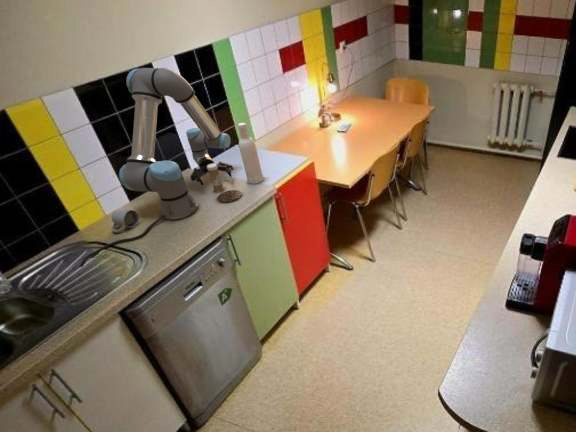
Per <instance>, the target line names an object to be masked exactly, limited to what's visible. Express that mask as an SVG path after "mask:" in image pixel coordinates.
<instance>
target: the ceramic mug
mask: <svg viewBox="0 0 576 432" xmlns="http://www.w3.org/2000/svg"><path fill="white" fill-rule="evenodd" d="M111 221H112V223H113V224H112V225H111V231H112V232H113V233H115V234H120V233H122V232H123V231H124V230H125V229H126V228H129V229H132V228H135V227H136V226H137V225H138V224H139V222H140V214H139V213H138V212H137V211H136V210H135V209H127V208H120V209H116V210H115V211H113V212H112V215H111ZM117 226H119V229H117V230H116V228H117Z"/></svg>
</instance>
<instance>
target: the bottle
mask: <svg viewBox="0 0 576 432" xmlns="http://www.w3.org/2000/svg"><path fill="white" fill-rule="evenodd" d="M237 129H238V131H239V135H240V139H239V141H238V149H239V153H240V157H241V160H242V164H243V167H244V168H243V169H244V173H245V177H246V180H247V183H249V184H250V185H256V184H260V183H262V182H263V181H264V174H263V171H262V170H263V169H262V167H261V162H260V158H259V155H258V154H259V153H258V149H257V146H256V142H255V140H254V139H253V138H252V137H251V136H249V131H248V126H247V123H246V122H239V123H238V124H237Z"/></svg>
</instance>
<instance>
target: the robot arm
mask: <svg viewBox="0 0 576 432" xmlns="http://www.w3.org/2000/svg"><path fill="white" fill-rule="evenodd" d="M125 81H126V84H125V85H126V87H127V88H128V89H127V90H128V91H129V93H130V94H131V98H132V99H133V100H134V102H135V103H134V105H135V106H134V116H133V117H134V118H133V128H132V129H133V131H132V143H131V144H132V145H131V155H130V156H129V157H127V158H126V164H123V165H122V167H120V169H119V173H118V176H119V177H118V178H119V180H120V181H119V182H120V183H121V184H122V185H123V187H124V188H125V189H126V190H129V191H134V192H148V193H149V192H151V193H157V195H158V197H159V200H160V214H161V216H160V217H159V218H158V219H156V220H155V221H153V222H152V223H151V224H150V225H149V226H147V227H146V229H145V230H144V231H143V232H142V233H141V234H139V235H137V236H133V237H129V238H122V239H118V240H115V241H113V242H110V243H107V244H106V245H104V246H101V247H100V248H98V249H97V250H95V251H93V252H91V253H89V254H87V255H86V256H85V257H84V258H83V259H82V261H81V262H80V266H79V268H83V267H84V265H85V263H86V262H87V260H88V259H90V258H91V257H93V256H94V255H96V254H98V253H100V252H102V251H103V250H105V249H107V248H109V247H111V246H114V245H116V244H119V243H124V242H128V241H129V242H130V241H134V240H138V239H140V238H142V237H143V236H145V235H146V234H147V233H149V231H150V229H151V228H152V227H154V226H155V225H156V224H158V223H159V222H161V220H163V219H164V220H167V221H177V220H182V219H186V218H188V217H190V216H192V215H193V214H195V213H196V212H197V211H198V209H199V206H198V203H197V201H196V199H195V198H194V197H193V196H192V195H191V194H190V192H189V190H188V187H187V184H186V180H185V177H184V176H183V171H182V170H181V168H180V166H179V164H178V163H177V162H175V161H172V160H162V161H161V160H159V161H157V160H156V159H155V148H156V146H155V145H156V134H157V122H158V106H159V105H161V104H162V102H163V97H170V98H171V99H173V101H174V102H175V103H177V104H179V105H180V106H181V107H182V109H183V110H184V111H185V112H186V114H187V116H189V117H190V119H191V120H192V122H193V123H194V124H195V125H196V126H197V127H192V128H190V129H187V130H186V132H185V134H186V138H187V142H188V144H189V147H190V150H191V154H192V155H191V156H192V159H193V161H194V162H195V164H196V165H197V166H198V168H196V167H194V168H193V171H192V172H191V174H190V176H189V177H190V180H191V182H194V181H195V182H196V183H199V184H200V186H204V183H203V179H202V177H203V176H205V175H207V174H209V171H208V169H207V166H208V165H209V164H217V167H218V172H226V174H227V175H228V176H229V178H232V176H233V175H232V171H233V170H234V167H233V164H230V163H226V162H223V161H221V160H220V161H218V163H215V162H214V160H213V158H212V157H211V156H210V155H209V152H208V149H228V148H230V146H231V140H232V139H231V137H230V135H229V134H228V133H224V132H221V130H220V129H219V128H218V125H217V124H216V123H215V122H214V120H213V119H212V117H211V116H210V115H209V113H208V112H207V111H206V109H205V107H204V106H203V105H202V104H201V102H200V101H199V99H198V98H197V96H196V95H195V93H196V91H195V90H194V88H193V86H191V84H190V83H189V82H188V81H187V80H186V79H185V78H184V77H183V76H181V74H179V73H178V72H177V71H176V72H175V71H174V70H172V69H170V68H166V67H139V68H134V69H132V70H130V71H129V73H128V74H127V76H126V80H125Z"/></svg>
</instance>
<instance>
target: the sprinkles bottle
mask: <svg viewBox="0 0 576 432" xmlns="http://www.w3.org/2000/svg"><path fill="white" fill-rule="evenodd" d="M217 164H218V163H216V164H209V165H208V166H207V169H208V171H209V173H208V174H209V178H210V181H211V184H212V187H213V191H214V192H217V193H220V192H222V191H224V189H225V188H224V186H223V181H222V178H221V174H220V171H218V167H217Z"/></svg>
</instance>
